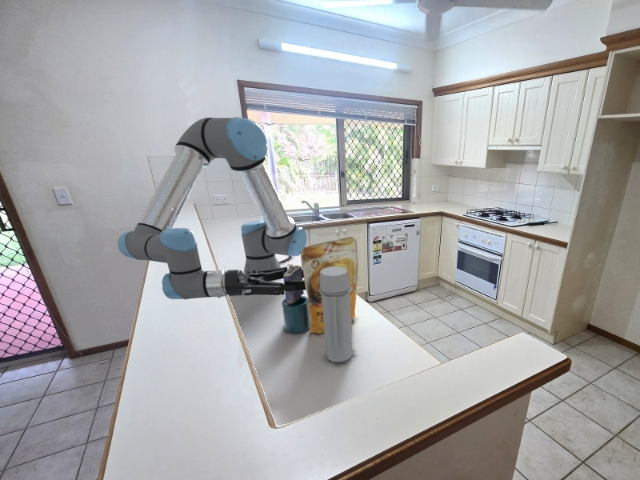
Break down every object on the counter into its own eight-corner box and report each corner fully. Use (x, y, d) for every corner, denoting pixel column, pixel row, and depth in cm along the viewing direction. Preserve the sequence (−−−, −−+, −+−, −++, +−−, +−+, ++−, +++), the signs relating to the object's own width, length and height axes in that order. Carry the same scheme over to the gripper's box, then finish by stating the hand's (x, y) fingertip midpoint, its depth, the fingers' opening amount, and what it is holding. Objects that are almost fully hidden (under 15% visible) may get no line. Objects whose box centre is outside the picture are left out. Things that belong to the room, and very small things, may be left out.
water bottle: (326, 348, 93) (320, 265, 83) (354, 347, 93) (351, 265, 84) (322, 369, 84) (314, 279, 74) (353, 368, 85) (349, 279, 75)
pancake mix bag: (298, 327, 101) (294, 244, 87) (351, 309, 113) (355, 233, 99) (308, 339, 97) (305, 254, 83) (362, 320, 108) (368, 242, 94)
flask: (292, 304, 95) (288, 270, 91) (283, 304, 96) (278, 269, 91) (305, 292, 104) (302, 259, 100) (296, 291, 104) (293, 259, 100)
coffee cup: (286, 321, 106) (283, 296, 103) (311, 319, 108) (309, 294, 104) (284, 334, 99) (280, 307, 96) (310, 331, 101) (308, 305, 97)
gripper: (238, 281, 105) (311, 277, 109) (219, 312, 86) (308, 306, 90) (234, 258, 102) (309, 255, 106) (213, 285, 83) (306, 280, 87)
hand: (309, 278), depth 98 cm, fingers closed on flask, 9 cm apart
